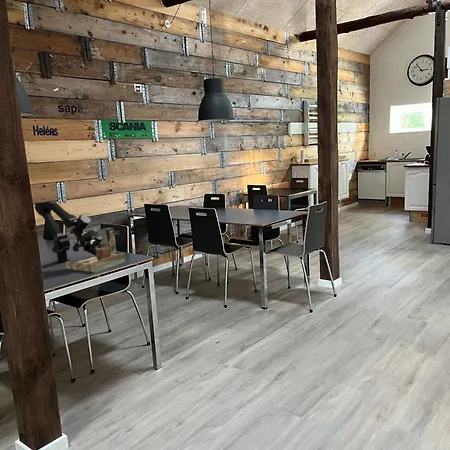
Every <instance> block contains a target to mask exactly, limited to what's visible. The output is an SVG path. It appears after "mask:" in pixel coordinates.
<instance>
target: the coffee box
mask: <svg viewBox="0 0 450 450" xmlns="http://www.w3.org/2000/svg"><path fill="white" fill-rule="evenodd" d="M98 236H101V237H102V238H103V240H102V241H101V243H100V244H99V249H100V248H109V249H110V254H116V253H117V248H116V239H115V237H116V236H115V227H104V228H101V229H99V230H98Z"/></svg>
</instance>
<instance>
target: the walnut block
mask: <svg viewBox="0 0 450 450" xmlns="http://www.w3.org/2000/svg"><path fill="white" fill-rule="evenodd" d="M96 251H97V260H101V259H104V258H108V257H110V249H109V248H100V247H99V248H96Z"/></svg>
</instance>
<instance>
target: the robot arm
mask: <svg viewBox="0 0 450 450" xmlns="http://www.w3.org/2000/svg"><path fill="white" fill-rule="evenodd" d="M34 209H35V212H36V213H37V214H38V215H39V216H41V217H42V218H43V220H44V222H45V223H46V225H47V227H48V229H49V231H50V233H51V235H52V237H53V244H54V245H53V247H52V248H51V251H52V253H54V254H55V253H56V260H54V262H55V263H59V264H62V263H66V262H67V261H70V262H71V259H69V258H68V253H67V251H70V249H71V241H70V239H69V236H68V234H63V233H62V231H61V230H60V228H59V225H58V224H57V222H56V220H55V218H54V216H53V214H52V212H53V213H54V215H55V214H56V216H58V217H59V218H60V219H61V222H62V224H63V225H64V226H65V228H66V229H67V228H70V231H69V234H70V235H72V234H73V235H74V236H75V237H76V242H75V243H74V244H73V246H72V251H73V252H74V253H77V252H79V251H80V248H82V251H83V252H87V253H89V254H91V255H94V256H96V255H97V251H96V250H97V248H96V247H98V246H100V243H101V241H102V240H103V238H102V237H101V236H99V235H98V236H97V234H98V230H97V229H96V228H93V229H91V230H89V231H85V230H86V228H87V227H88V225H89V224H90V223H91V218H90V217H89V216H87V215H84V214H80V215H79V216H78V217H77V216H76V215H73V214H70V213H69V212H67V211H66V210H65V209H64V208H62V206H61V205H59V203H57V201H56V200H54V199H53V200H48V201H47V200H46V201H39V202H36V203H35V204H34Z"/></svg>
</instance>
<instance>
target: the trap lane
mask: <svg viewBox="0 0 450 450" xmlns="http://www.w3.org/2000/svg"><path fill="white" fill-rule="evenodd" d="M125 255H126V254H125V252H121V253H117V254H116V253H114V254H110V257H108V258H104V259H101V260H97V255H96V256H95V255H94V256H91V257H88V258H85V259H82V260H78V261H71V260H70V261H66V262H65V264H66V265H65V267H66V269H67V270H74V271H82V272H91V273H98V272H101V271H103V270H106V269H109V268H111V267H115V266H118V265H121V264H123V263H126V258H125V257H126V256H125Z"/></svg>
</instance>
